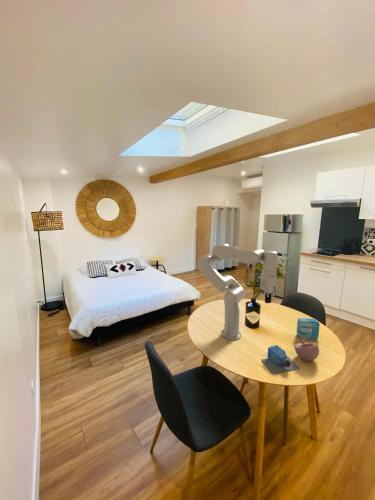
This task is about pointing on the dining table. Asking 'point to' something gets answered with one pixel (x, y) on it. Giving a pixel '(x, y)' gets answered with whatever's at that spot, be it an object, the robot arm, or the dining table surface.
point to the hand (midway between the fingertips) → (267, 302)
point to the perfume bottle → (278, 356)
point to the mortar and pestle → (307, 350)
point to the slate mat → (279, 366)
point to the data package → (308, 328)
